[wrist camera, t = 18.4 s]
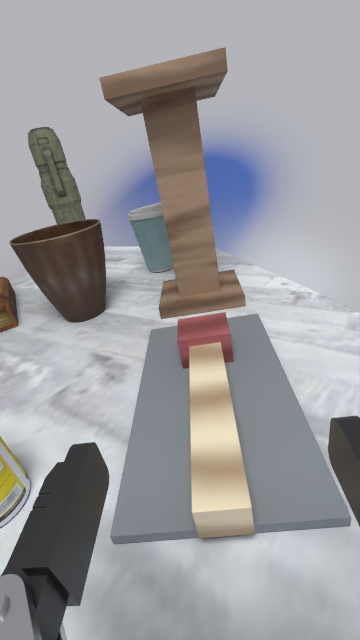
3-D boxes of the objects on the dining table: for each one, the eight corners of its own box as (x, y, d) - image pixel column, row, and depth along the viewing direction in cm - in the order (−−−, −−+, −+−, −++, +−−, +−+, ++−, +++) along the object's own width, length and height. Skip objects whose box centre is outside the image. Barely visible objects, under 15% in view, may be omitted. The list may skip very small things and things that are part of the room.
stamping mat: (349, 525, 19) (351, 517, 19) (114, 544, 21) (110, 536, 21) (258, 319, 44) (257, 313, 44) (152, 335, 46) (151, 329, 45)
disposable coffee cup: (134, 276, 72) (116, 212, 64) (152, 261, 80) (138, 202, 73) (175, 274, 68) (161, 205, 60) (189, 258, 76) (178, 196, 69)
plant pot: (125, 290, 65) (103, 214, 57) (123, 321, 52) (94, 228, 44) (57, 305, 64) (25, 231, 57) (38, 341, 51) (-7, 250, 43)
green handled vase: (74, 273, 84) (20, 127, 67) (69, 264, 93) (20, 135, 77) (105, 264, 86) (60, 122, 70) (96, 256, 96) (55, 130, 80)
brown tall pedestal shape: (247, 311, 47) (225, 47, 32) (160, 324, 48) (99, 77, 33) (233, 275, 61) (213, 80, 46) (166, 286, 62) (125, 101, 47)
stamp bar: (273, 532, 19) (271, 496, 17) (181, 539, 20) (169, 505, 18) (228, 339, 39) (225, 312, 37) (183, 345, 40) (178, 319, 38)
